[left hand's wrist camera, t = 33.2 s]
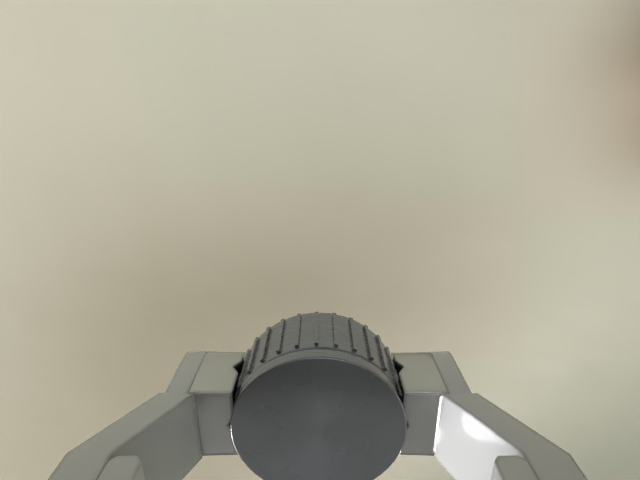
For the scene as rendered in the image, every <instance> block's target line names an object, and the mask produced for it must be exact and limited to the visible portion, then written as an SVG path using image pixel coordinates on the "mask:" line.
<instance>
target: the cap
mask: <svg viewBox="0 0 640 480" xmlns="http://www.w3.org/2000/svg"><path fill="white" fill-rule="evenodd" d="M237 387H238V390H237V393H236V397H235V402H234V406H233V410H232V414H231V421H230V429H231V436H232V440H233V444H234V446H235V449H236V451H237V453H238V455H239V456H240V458H241V459H242V461H243V462H244V463H245V464H246V465H247V467H248V468H249V469H250V470H252V471H253V472H254V473H255V474H256V475H258V476H259V477H260V478H262V479H263V480H374V479H375V478H377V477H378V476H379V475H381V474H382V473H383V472H384V471H385V470H386V469H388V468H389V466H390V465H391V464H392V463H393V462H394V461H395V459H396V458H397V456H398V454H399V453H400V451H401V448H402V446H403V444H404V440H405V436H406V429H407V422H406V414H405V410H404V406H403V402H402V394H401V390H400V386H399V383H398V374H397V370H396V369H395V368H394V364H393V360H392V359H391V355H390V351H389V348H388V347H385V346H384V344H383V343H382V342H381V339H380V336H379V335H377V336H376V335H375V334H374V333H373V332H372V331H371V330H369V329H368V326H366V325H364V326H363V325H362V324H360V323H358V322H356V321H354V320H353V318H351V317H350V318H346V317H344V316H339V315H336V313H333V314H329V313H318V312H315V313H309V314H302V315H301V314H297V316H294V317H291V318H288V319H282V320H281V322H279V323H277V324H275V325H274V326H272V327H271V328H270V327H268V328H267V329H266V332H264V333H263V334H262V335H261V336H260V337H259V338H258V337H257V338H256V339H255V342H254V345H253V346H252V348H251V350H249V349H248V350H247V353H246V357H245V360H244V364H243V367H242V371H241V373H240V374H239V382H238V385H237Z"/></svg>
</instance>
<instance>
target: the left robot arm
mask: <svg viewBox="0 0 640 480" xmlns="http://www.w3.org/2000/svg"><path fill="white" fill-rule="evenodd" d="M245 357H246V353H245V352H188V353H186V354H185V356H184V358H183V359H182V361H181V363H180V365H179V367H178V369H177V371H176V373H175V375H174V377H173V379H172V381H171V382H170V384H169V386H168V388H167V390H166V392H165V393H159V394H157V395H156V396H154V397H153V398H151V399H150V400H148V401H147V402H145V403H144V404H142V405H141V406H139V407H137V408H136V409H134V410H133V411H131V412H130V413H128V414H127V415H125V416H124V417H122V418H121V419H119V420H117V421H116V422H114V423H113V424H111V425H110V426H108V427H107V428H105V429H104V430H102V431H101V432H99V433H97V434H96V435H94V436H93V437H91V438H90V439H88V440H87V441H85V442H84V443H82V444H81V445H79V446H77V447H76V448H74V449H73V450H71V451H70V452H68V453H67V454H66V455H65V456H64V458H63V459H62V461H61V462H60V463H59V465H58V466H57V468H56V469H55V470H54V472H53V473H52V475H51V476H50V478H49V479H48V480H182V479H183V478H184V477H185V476H186V475H187V474H188V472H189V471H190V470H191V469H192V468H193V467H194V466H195V465H196V464H197V463H198V462H199V461H200V460H201V458H202V456H205V455H238V453H237V451H236V449H235V446H234V444H233V440H232V436H231V429H230V421H231V414H232V410H233V406H234V402H235V397H236V393H237V390H238V387H237V385H238V382H239V374H240V373H241V371H242V367H243V364H244V360H245ZM391 359H392V360H393V364H394V368H395V369H396V370H397V374H398V383H399V386H400V390H401V394H402V402H403V406H404V410H405V414H406V422H407V429H406V436H405V440H404V444H403V446H402V448H401V451H400V453H399V455H432V456H435V458H436V460H437V461H438V462H439V463H440V464H441V465H442V466H443V467H444V468H445V469H446V470H447V472H448V473H449V474H450V475H451V476H452V477H453V478H454V479H455V480H587V478H586V477H585V475H584V474H583V472H582V471H581V469H580V468H579V467H578V465H577V464H576V462H575V461H574V459H573V458H572V456H571V455H570V454H569V453H567V452H566V451H564V450H563V449H561V448H560V447H558V446H557V445H555V444H554V443H552V442H550V441H549V440H547V439H546V438H544V437H543V436H541V435H540V434H538V433H537V432H535V431H534V430H532V429H531V428H529V427H528V426H526V425H525V424H523V423H522V422H520V421H519V420H517V419H516V418H514V417H512V416H511V415H509V414H508V413H506V412H505V411H503V410H502V409H500V408H499V407H497V406H496V405H494V404H493V403H491V402H490V401H488V400H487V399H485V398H484V397H482V396H481V395H479V394H478V393H471V391H470V389H469V387H468V385H467V383H466V381H465V379H464V377H463V375H462V374H461V372H460V370H459V368H458V366H457V364H456V362H455V360H454V358H453V356H452V354H451V353H450V352H448V351H443V352H426V353H391Z"/></svg>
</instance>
